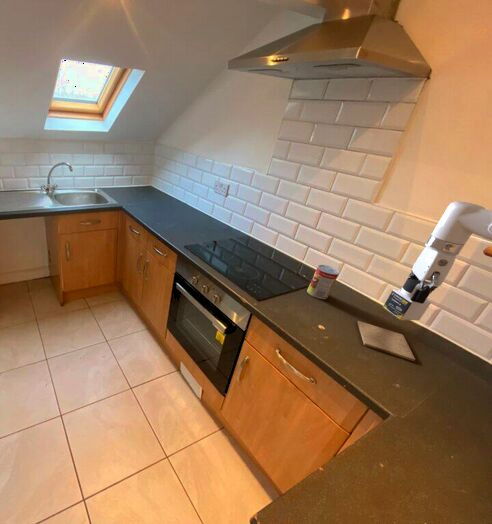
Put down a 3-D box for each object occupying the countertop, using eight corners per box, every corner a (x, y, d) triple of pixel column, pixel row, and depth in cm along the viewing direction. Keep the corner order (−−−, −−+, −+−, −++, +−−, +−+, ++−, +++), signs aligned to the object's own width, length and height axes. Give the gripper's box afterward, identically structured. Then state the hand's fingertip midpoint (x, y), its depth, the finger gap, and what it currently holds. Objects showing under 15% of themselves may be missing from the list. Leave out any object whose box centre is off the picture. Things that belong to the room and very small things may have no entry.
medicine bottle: (382, 306, 101) (400, 276, 95) (400, 307, 102) (419, 277, 96) (400, 320, 94) (420, 288, 89) (419, 320, 96) (440, 289, 90)
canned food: (323, 290, 130) (334, 266, 125) (330, 300, 124) (342, 275, 118) (304, 287, 131) (315, 263, 126) (310, 297, 124) (321, 272, 119)
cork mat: (401, 336, 107) (402, 334, 106) (414, 361, 95) (415, 359, 95) (357, 322, 112) (358, 320, 111) (364, 344, 100) (365, 343, 100)
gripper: (475, 259, 78) (437, 313, 86) (447, 239, 93) (417, 287, 101) (439, 251, 81) (406, 305, 89) (418, 232, 95) (391, 280, 103)
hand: (412, 295), depth 95 cm, fingers closed on medicine bottle, 7 cm apart
